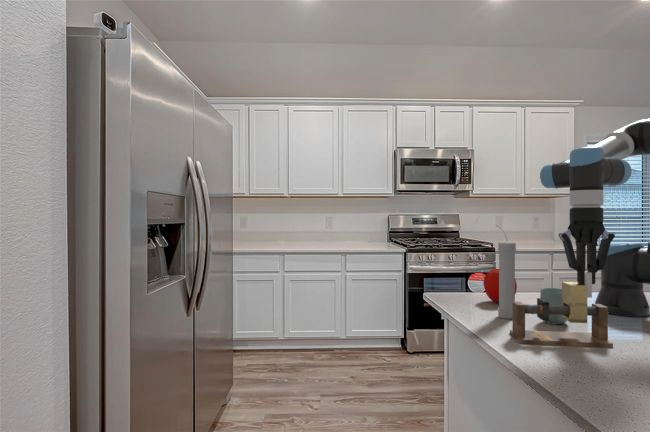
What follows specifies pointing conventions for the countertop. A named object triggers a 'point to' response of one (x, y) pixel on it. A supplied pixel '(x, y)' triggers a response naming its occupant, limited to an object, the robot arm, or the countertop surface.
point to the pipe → (506, 278)
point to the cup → (553, 303)
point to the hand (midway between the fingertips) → (586, 296)
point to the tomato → (493, 285)
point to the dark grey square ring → (545, 309)
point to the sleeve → (575, 301)
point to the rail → (561, 338)
